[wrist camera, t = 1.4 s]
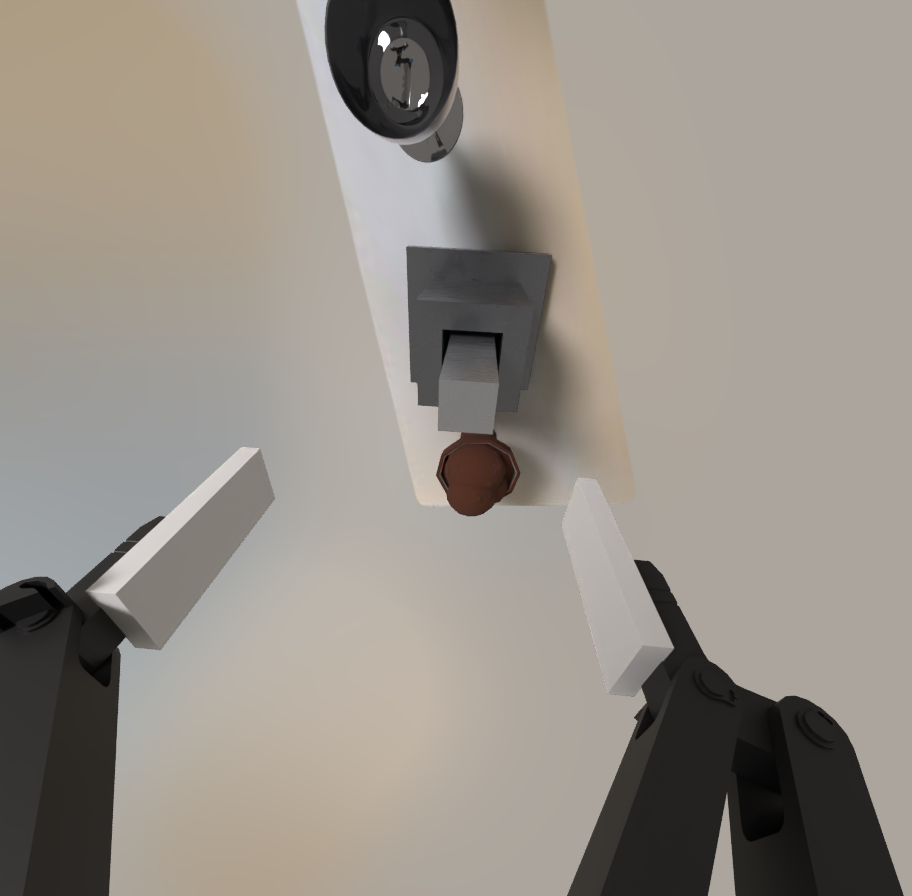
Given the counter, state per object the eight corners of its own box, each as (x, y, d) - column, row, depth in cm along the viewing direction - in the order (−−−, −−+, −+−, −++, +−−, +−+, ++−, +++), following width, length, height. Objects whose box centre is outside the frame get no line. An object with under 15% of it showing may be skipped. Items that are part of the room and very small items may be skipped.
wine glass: (484, 97, 32) (485, 19, 19) (438, 186, 35) (415, 169, 23) (410, 25, 29) (359, -114, 17) (370, 129, 33) (304, 76, 21)
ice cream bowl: (514, 462, 55) (523, 533, 43) (446, 464, 56) (435, 534, 44) (515, 404, 49) (526, 466, 37) (439, 407, 50) (425, 469, 38)
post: (456, 307, 40) (436, 377, 22) (492, 309, 40) (501, 381, 22) (454, 343, 42) (436, 432, 25) (489, 345, 42) (494, 436, 25)
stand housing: (408, 245, 39) (375, 258, 26) (549, 253, 38) (581, 270, 26) (412, 377, 48) (389, 432, 36) (526, 385, 47) (542, 443, 35)
